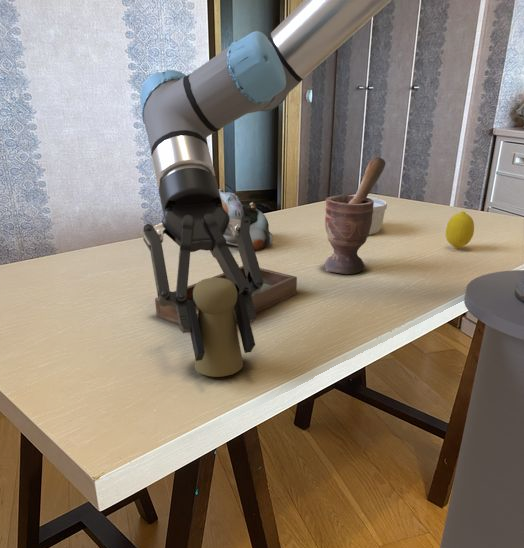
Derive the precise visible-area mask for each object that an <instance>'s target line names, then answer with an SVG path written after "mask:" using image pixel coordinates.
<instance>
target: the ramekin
mask: <svg viewBox="0 0 524 548" xmlns="http://www.w3.org/2000/svg"><path fill="white" fill-rule="evenodd" d="M366 198H369V199H371V200H373V201H374V204H373V215H372V224H371V228H370V232H369V235H368V236H372V235H376V234H377V233H378V232H380V230H381V229H382V226H383V223H384V217H385V213H386V210H387V208H388V201H386V200H384V199H382V198H377V197H372V196H367V197H366Z"/></svg>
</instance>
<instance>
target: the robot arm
mask: <svg viewBox="0 0 524 548" xmlns="http://www.w3.org/2000/svg"><path fill="white" fill-rule="evenodd" d="M390 2H392V0H303V1H302V2H301V3H299V5H298V6H296V8H295V9H294V10H293V11H291V12H290V13H289V14H288V15H287V17H286V18H285V19H283V20H282V21H281V22H280V23H279V24H278V25H277V26H276V27H275V28H274V29H273V30H272V31H271V32H270V34H269V35H267V36H266V34H264V33H263V32H261V31H259V30H258V31H257V30H255V31H253V32H250V33H249V34H247V35H245V36H244V37H242V38H240V39H236V40H234V41H232V43H231V44H230V45H229V46H228V47H226V48H225V49H224V50H223V51H220V52H219V53H218V54H216V55H215V56H214V57H212V58H210V59H209V60H208V61H206V62H205V63H204V64H201V66H199V67H198V68H196V69H195V70H194V71H192V72H191V73H188V74H187V75H186V74H185V73H182V72H181V71H179V70H176V69H166V70H165V71H162V72H161V71H156V72H154V73H152V74H151V75H149V76H148V77H147V79H146V80H144V82H143V84H142V86H141V88H140V103H141V116H142V117H141V119H142V122H143V124H144V127H145V131H146V136H147V139H148V145H149V149H150V155H151V159H152V165H153V170H154V175H155V180H156V185H157V186H158V195H159V201H160V204H161V209H162V214H163V217H162V219H161V222H160V223H158V224H156V225H152V224H151V223H146V224H145V225H144V226H143V232H142V233H143V234H142V235H143V238H142V240H143V242H144V243H145V245H146V247H147V248H148V250H149V252H150V258H151V265H152V269H153V275H154V282H155V287H156V294H157V298H158V301H159V304H160V305H161V306H172V307H174V308H175V310H176V311H177V316H178V321H179V325H178V326H179V329H180V331H181V333H182V334H188V333H189V334H190V339H191V344H192V349H193V354H194V360H195V359H196V361H198V360H202V359H203V356H204V354H205V350H204V345H203V341H202V336H201V331H200V327H199V322H198V317H197V313H196V308H195V303H194V300H189V301H187V299H186V298H187V287H188V286H189V285H188V284H189V275H190V274H189V272H190V262H191V261H190V260H191V253H195V252H198V251H209V252H210V254H211V255H212V257H213V258H214V259H215V260H216V262H217V263H218V265H219V268H220V269H221V271H222V273H224V274H225V276H226V278H227V279H228V280H230V281H232V282H233V283H234V285H235V287H236V289H237V301H236V304H235V305H234V310H235V314H236V319H237V323H236V324H237V326H238V327H237V328H238V332H239V335H240V339H241V340H240V341H241V343H242V348H243V351H244V354H248V353H251V352H253V349H254V348H255V346H256V341H255V338H254V333H253V329H252V325H251V324H254V323H255V320H256V317H257V313H255V309H254V305H253V301H252V296H253V295H257V294H259V292H260V290H261V288H262V286H263V283H264V282H263V278H262V274H261V271H260V268H261V267H260V265H259V261H258V257H257V254H256V250H254V247H253V243H252V240H251V236H250V233H249V232H250V223H251V220H250V218H249V217H247V216H244V217H242V219H241V220H240V219H235V218H230V217H229V215H228V213H227V212H226V211H225V210H224V208H223V205H222V201H221V197H220V193H219V189H220V188H219V185H218V180H217V178H216V173H215V168H214V165H213V160H212V157H211V152H210V148H209V144H208V139H207V138H208V137H209V136H211V135H214V134H215V133H217V132H218V131H220V130H221V129H223V128H224V127H227V126H228V125H230V124H232V123H234V122H235V121H236V120H239V119H240V118H242V117H244V116H245V115H248V114H253V113H257V112H270V111H272V110H274V109H276V108H277V107H278V106H280V105H281V104H283V102H285V100H286V99H287V97H288V95H289V93H290V92H292V91H293V90H294V89H295V88H297V86H298V85H299V84H300V83H301V82H302V81H303V80H304V79H305V78H307V76H308V75H310V74H311V73H312V72H313V71H314V70H316V68H318V67H319V66H320V65H321V64H322V63H323V62H324V61H325V60H327V59H328V58H329V57H330V56H331V55H332V54H333V53H334V52H336V51H337V50H338V49H339V48H340V47H341V46H343V44H345V43H346V42H347V41H348V40H349V39H350V38H351V37H353V35H355V34H356V33H357V32H358V31H359V30H360V29H361V28H362V27H363V26H364V25H366V24H367V23H368V22H369V21H370V20H372V19H373V18H374V17H375V16H376V15H378V13H379V12H380V11H381V10H383V9H384V8H385V7H386V6H388V4H390ZM227 228H229V229H231V231H232V234H233V235H234V237H235V238H237V245H238V246H237V249H238V253H239V256H240V260H241V263H242V264H241V265H242V266H243V267H244V271H245V274H246V278H247V280H246V278H245V277H244V275H243V273H242V271H241V270H240V268H239V267H240V265H239V264H238V263H237V261H236V259H235V257H234V255H233V253H232V251H231V250H230V248H229V246H228V244H227V243H226V240H225V238H224V236H223V235H224V233H225V231H226V229H227ZM164 235H166V236H168V238H170V239H171V240H172V241H173V242H174V243H175V244H177V245H178V246H179V253H178V263H177V264H178V265H177V277H176V287H175V291H176V292H174V291H171V289H170V284H169V278H168V271H167V266H166V261H165V255H164V249H163V242H164ZM515 296H516V298H517V299H518V300H519V301H521V302H522V303H524V271H523V273H522V275H521V276H520V278H519V280H518V282H517V285H516V289H515Z"/></svg>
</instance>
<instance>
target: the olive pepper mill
mask: <svg viewBox="0 0 524 548" xmlns="http://www.w3.org/2000/svg"><path fill="white" fill-rule="evenodd" d="M196 283H197V284H196ZM196 283H195V284H196V285H195V287H194V289H193V300H194V303H195V306H196V307H197V308H198V309H199V310H198V322H199V327H200V331H201V336H202V341H203V345H204V350H205V354H204V356H203V359H202V360H198V361H196V359H195V358H194V369H195V371H196V372H197V373H199V374H201V375H203V376H207V377H216V378H219V377H226V376H231V375H234V374H236V373H238V372H239V371H240V370H242V368H243V366H244V360H243V356H242V351H241V343H240V339H239V331H238V327H237V326H238V325H237V323H236V321H235V315H234V310H233V307H234V305H235V304H236V301H237V289H236V287H235V285H234V283H233V282H232V281H230V280H228V279H225V278H212V277H207V278H204V279H201V280H199V281H198V282H196Z"/></svg>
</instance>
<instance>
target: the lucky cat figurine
mask: <svg viewBox="0 0 524 548" xmlns="http://www.w3.org/2000/svg"><path fill="white" fill-rule="evenodd" d="M218 189H219V193H220V197H221V201H222V205H223V208H224V210H225V211H226V212H227V213H228V215H229V217H230V218H235V219H240V220H241V219H242V217H244V216H247V217H249V218H250V220H251V223H250V232H249V233H250V236H251V240H252V243H253V247H254V250H255V251H257V250H258V251H259V250H261V249H266V248H267V246H269V245H270V244H271V245H272V243H273V240H274V239H273V238H274V235H273V233H272V232H270V228H269V227H270V225H269V220H268V219H267V217H266V215H265V214H264V213H263V212H262V211H261V210H259V209H258V208H257V204H256V203H254V202H253V201H251V202H250V203H249V204H248V205H246V204H243V203H242V201H241V199H240V198H239V196H238V194H236V193H234V192H225V191H224V189H222V188H218ZM223 236H224V238H225V240H226V243H227V245H231V246H237V247H238V245H237V238H235V237H234V235H233V234H232V231H231V229H229V228H227V229H226V231H225V233H224V235H223Z"/></svg>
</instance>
